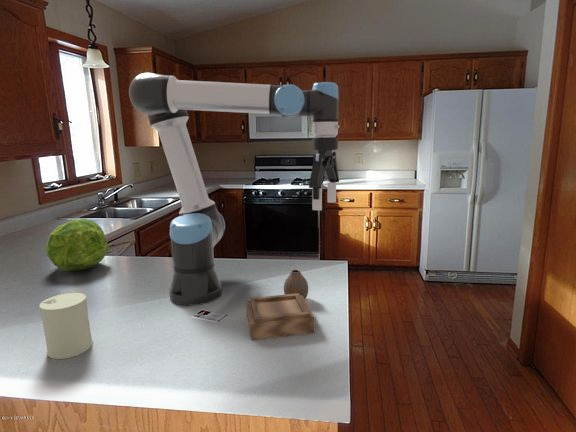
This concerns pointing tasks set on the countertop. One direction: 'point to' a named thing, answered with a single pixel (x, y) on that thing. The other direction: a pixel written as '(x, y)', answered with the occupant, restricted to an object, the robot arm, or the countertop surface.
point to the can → (66, 325)
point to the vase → (296, 284)
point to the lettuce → (77, 245)
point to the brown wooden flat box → (279, 316)
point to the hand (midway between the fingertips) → (324, 206)
